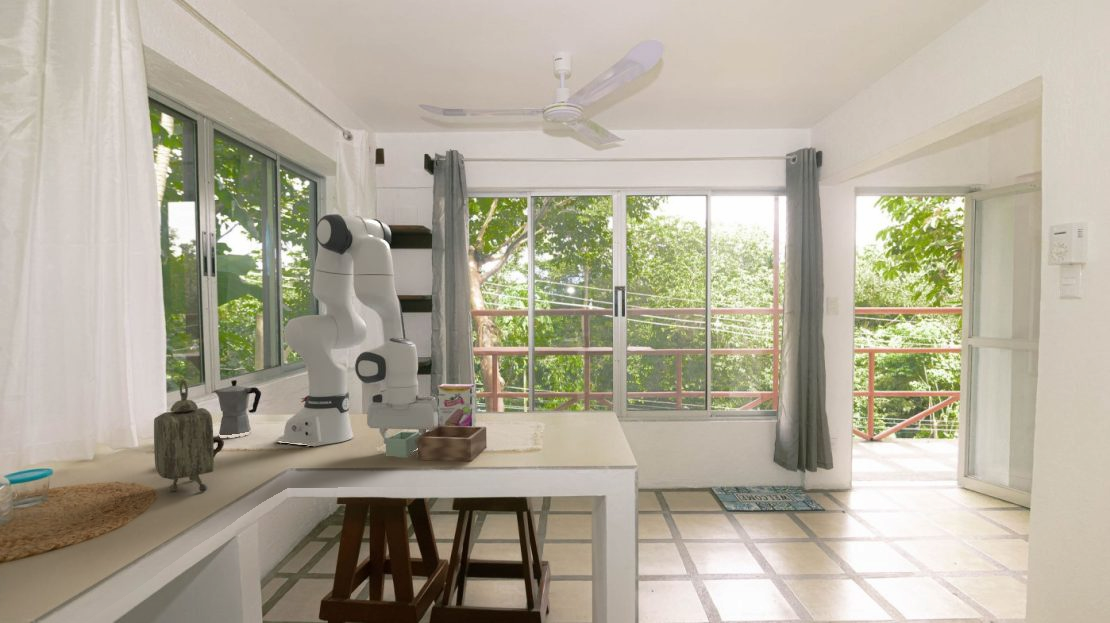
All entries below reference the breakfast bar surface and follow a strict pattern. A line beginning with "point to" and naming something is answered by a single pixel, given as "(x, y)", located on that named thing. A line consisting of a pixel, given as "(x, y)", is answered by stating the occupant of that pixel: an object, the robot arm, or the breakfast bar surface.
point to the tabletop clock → (184, 442)
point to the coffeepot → (236, 408)
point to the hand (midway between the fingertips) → (403, 444)
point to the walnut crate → (452, 443)
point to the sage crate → (401, 444)
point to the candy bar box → (456, 405)
